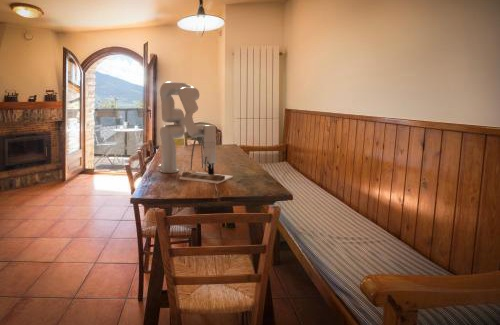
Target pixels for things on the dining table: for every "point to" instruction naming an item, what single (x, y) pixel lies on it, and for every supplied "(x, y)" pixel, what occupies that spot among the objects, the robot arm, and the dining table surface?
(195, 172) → the tongs arm
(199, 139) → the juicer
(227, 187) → the dining table surface
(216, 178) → the tongs base
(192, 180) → the board
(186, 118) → the robot arm
